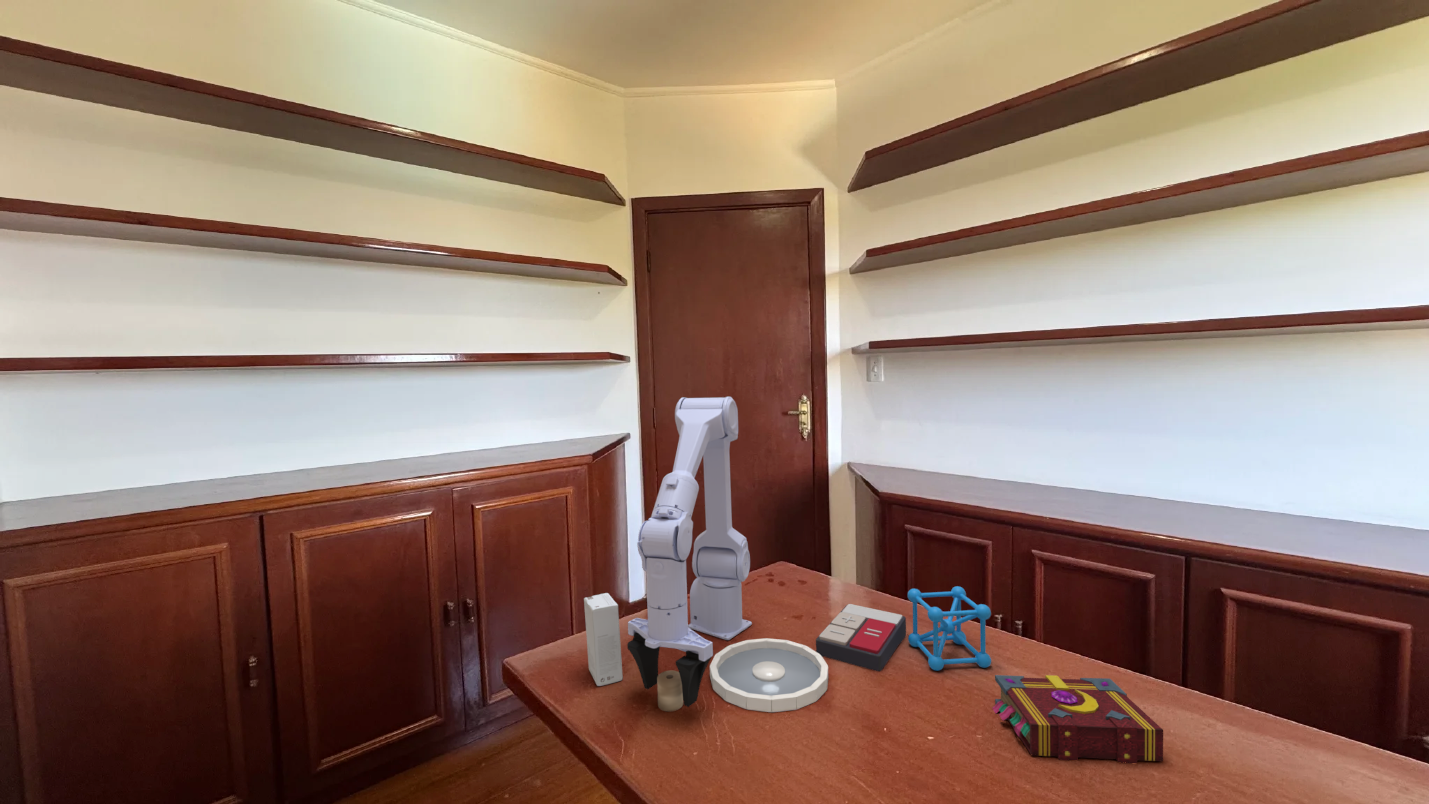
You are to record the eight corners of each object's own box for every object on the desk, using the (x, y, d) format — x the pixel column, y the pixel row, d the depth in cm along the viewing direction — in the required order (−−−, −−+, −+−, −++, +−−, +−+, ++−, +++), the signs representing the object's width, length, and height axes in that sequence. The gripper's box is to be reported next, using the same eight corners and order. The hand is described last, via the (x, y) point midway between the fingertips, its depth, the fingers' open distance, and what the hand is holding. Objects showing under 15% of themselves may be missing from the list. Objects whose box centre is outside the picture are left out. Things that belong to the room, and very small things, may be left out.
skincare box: (623, 680, 87) (621, 604, 87) (595, 688, 85) (592, 610, 85) (613, 663, 93) (610, 591, 92) (586, 669, 91) (583, 596, 90)
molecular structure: (994, 670, 87) (994, 607, 87) (932, 674, 87) (931, 610, 86) (962, 640, 97) (961, 583, 97) (906, 643, 97) (905, 586, 96)
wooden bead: (652, 706, 80) (651, 678, 80) (669, 694, 83) (668, 667, 83) (671, 714, 78) (670, 686, 78) (688, 702, 81) (687, 674, 81)
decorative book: (1166, 767, 65) (1166, 725, 65) (1021, 760, 67) (1020, 720, 67) (1109, 709, 77) (1109, 674, 77) (986, 705, 79) (986, 670, 78)
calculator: (814, 635, 94) (847, 599, 106) (815, 659, 94) (847, 621, 106) (879, 652, 87) (906, 612, 100) (880, 678, 88) (906, 635, 100)
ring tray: (687, 685, 85) (686, 674, 85) (751, 639, 100) (751, 629, 99) (791, 727, 74) (791, 714, 74) (846, 668, 89) (846, 657, 89)
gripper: (611, 599, 81) (614, 691, 82) (688, 624, 72) (691, 726, 73) (645, 584, 87) (648, 670, 87) (720, 605, 78) (723, 700, 79)
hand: (670, 694), depth 81 cm, fingers open, 7 cm apart
